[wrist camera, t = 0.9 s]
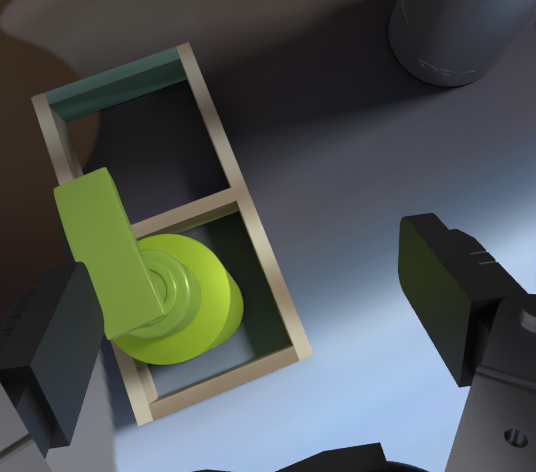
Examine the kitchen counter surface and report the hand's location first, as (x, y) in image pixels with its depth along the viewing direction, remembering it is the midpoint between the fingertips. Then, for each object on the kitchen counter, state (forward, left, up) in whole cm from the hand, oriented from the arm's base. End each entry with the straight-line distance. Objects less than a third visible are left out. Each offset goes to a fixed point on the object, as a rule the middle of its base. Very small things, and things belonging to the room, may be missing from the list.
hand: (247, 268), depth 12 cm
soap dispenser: (+1, -4, -23) cm, 23 cm away
